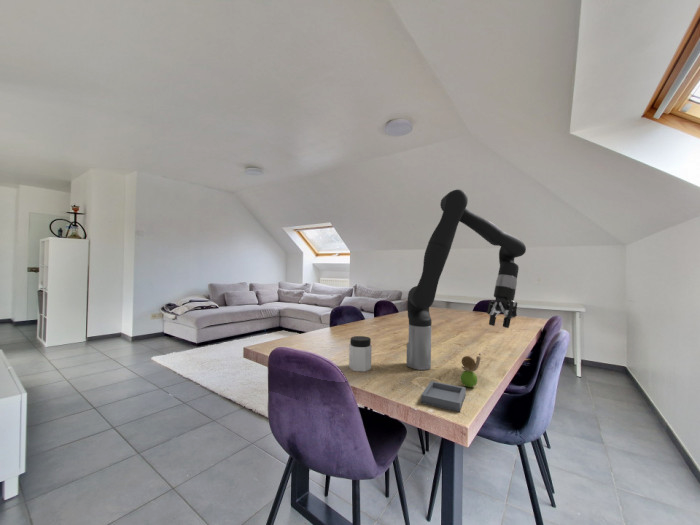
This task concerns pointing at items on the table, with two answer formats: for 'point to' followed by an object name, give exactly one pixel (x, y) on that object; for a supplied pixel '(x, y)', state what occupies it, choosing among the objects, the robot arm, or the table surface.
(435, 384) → the tray
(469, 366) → the snail figurine
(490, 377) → the table surface
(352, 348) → the jar
